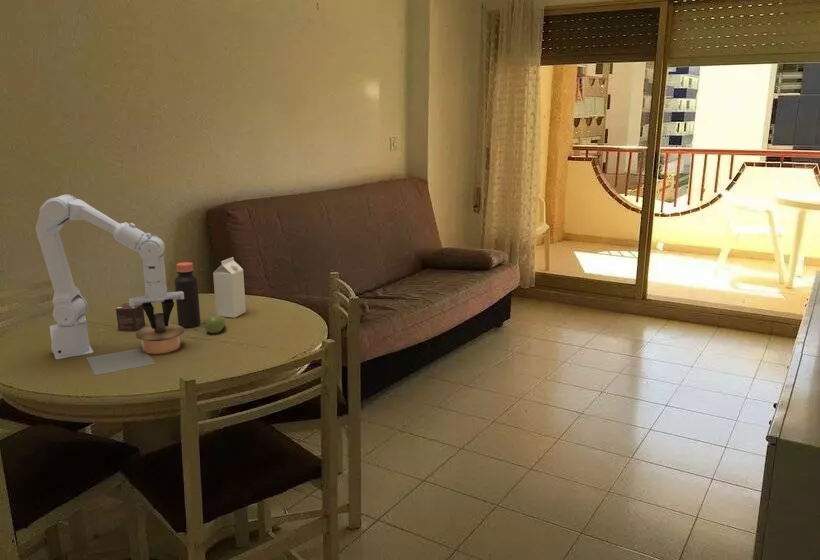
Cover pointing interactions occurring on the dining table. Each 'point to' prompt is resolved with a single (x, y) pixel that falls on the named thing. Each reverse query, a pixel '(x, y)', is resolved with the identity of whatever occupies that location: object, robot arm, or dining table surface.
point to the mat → (119, 361)
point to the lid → (159, 330)
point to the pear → (214, 324)
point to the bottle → (187, 296)
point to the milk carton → (229, 289)
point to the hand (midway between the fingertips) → (159, 326)
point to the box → (130, 317)
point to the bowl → (161, 345)
